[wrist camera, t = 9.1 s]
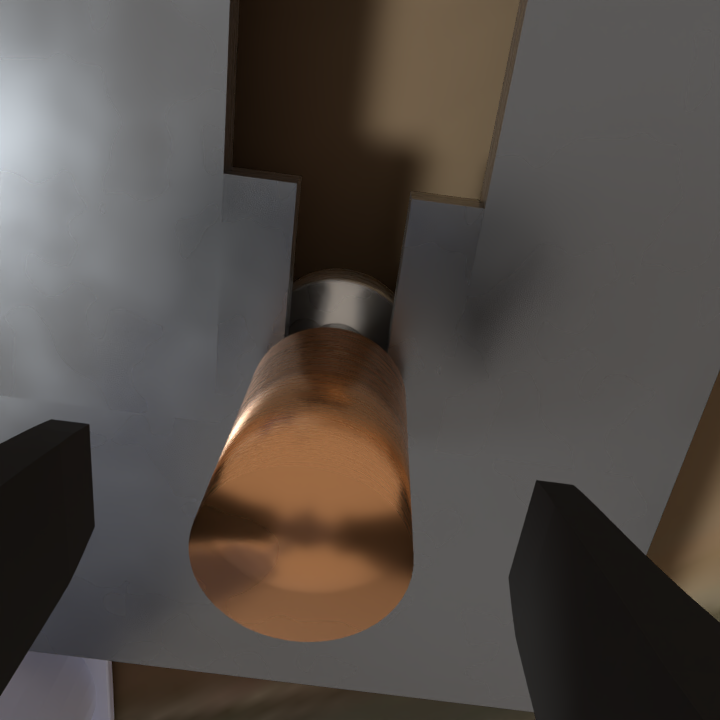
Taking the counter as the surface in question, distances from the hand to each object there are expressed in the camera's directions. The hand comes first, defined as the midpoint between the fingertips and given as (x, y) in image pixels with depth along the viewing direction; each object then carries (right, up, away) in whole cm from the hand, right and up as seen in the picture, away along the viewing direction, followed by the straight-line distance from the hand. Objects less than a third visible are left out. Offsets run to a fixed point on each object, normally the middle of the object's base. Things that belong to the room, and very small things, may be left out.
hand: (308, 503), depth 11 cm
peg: (0, +3, +6) cm, 7 cm away
